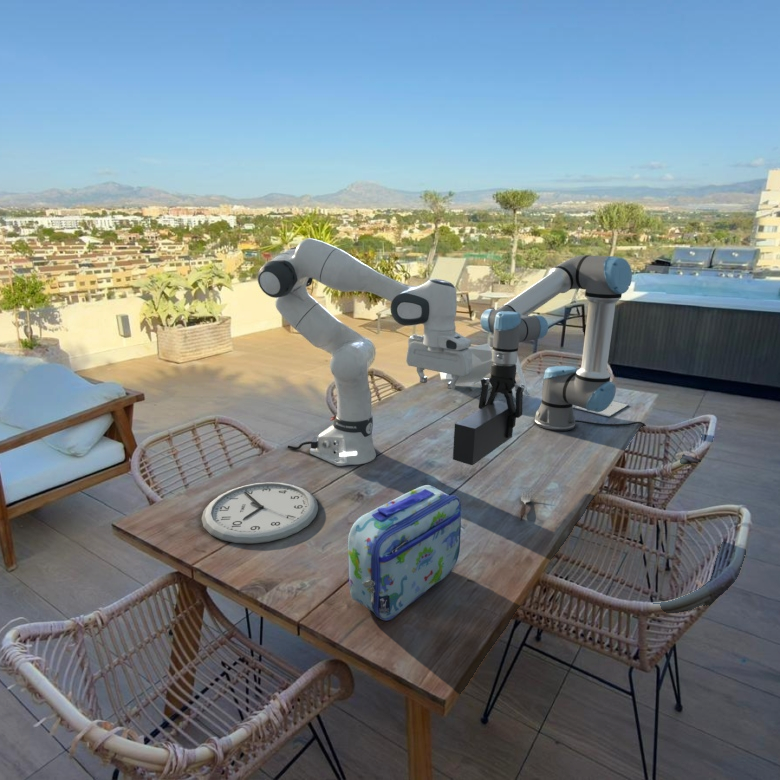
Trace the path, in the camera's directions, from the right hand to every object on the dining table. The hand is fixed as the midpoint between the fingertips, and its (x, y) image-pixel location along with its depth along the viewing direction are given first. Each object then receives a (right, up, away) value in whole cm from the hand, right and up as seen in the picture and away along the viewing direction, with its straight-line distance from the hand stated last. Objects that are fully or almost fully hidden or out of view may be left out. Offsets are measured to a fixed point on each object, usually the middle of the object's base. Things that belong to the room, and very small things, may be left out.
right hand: (498, 433), depth 166 cm
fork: (+2, -19, -23) cm, 29 cm away
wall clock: (-69, -19, -27) cm, 76 cm away
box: (-6, -4, -7) cm, 10 cm away
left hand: (-21, +15, -15) cm, 30 cm away
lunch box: (-31, -28, -56) cm, 70 cm away
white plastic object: (+7, +13, +78) cm, 79 cm away
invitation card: (+57, +7, +61) cm, 84 cm away
